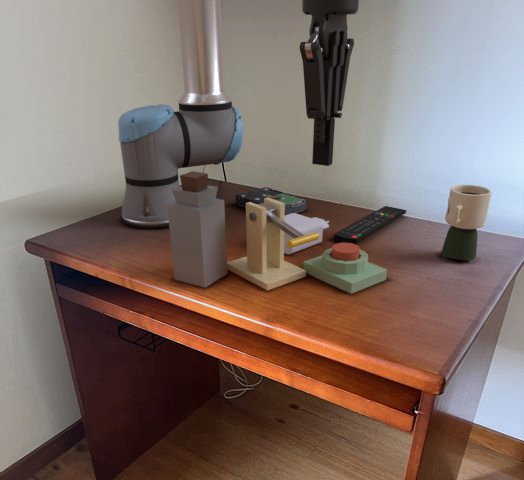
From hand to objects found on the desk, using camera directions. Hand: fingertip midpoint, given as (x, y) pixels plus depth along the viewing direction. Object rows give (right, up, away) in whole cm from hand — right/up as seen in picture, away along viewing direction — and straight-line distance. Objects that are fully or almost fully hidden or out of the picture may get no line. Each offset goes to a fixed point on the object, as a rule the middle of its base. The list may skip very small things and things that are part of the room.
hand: (322, 163), depth 84 cm
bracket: (-9, -15, +15) cm, 23 cm away
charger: (-1, -6, +29) cm, 30 cm away
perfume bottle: (-20, -16, +14) cm, 29 cm away
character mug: (+28, -11, +21) cm, 37 cm away
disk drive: (-7, +5, +48) cm, 49 cm away
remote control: (+15, -2, +35) cm, 38 cm away
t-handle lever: (-6, -9, +8) cm, 13 cm away
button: (+5, -12, +12) cm, 18 cm away
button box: (+5, -15, +14) cm, 21 cm away
